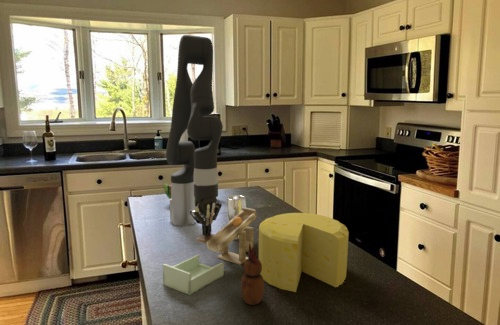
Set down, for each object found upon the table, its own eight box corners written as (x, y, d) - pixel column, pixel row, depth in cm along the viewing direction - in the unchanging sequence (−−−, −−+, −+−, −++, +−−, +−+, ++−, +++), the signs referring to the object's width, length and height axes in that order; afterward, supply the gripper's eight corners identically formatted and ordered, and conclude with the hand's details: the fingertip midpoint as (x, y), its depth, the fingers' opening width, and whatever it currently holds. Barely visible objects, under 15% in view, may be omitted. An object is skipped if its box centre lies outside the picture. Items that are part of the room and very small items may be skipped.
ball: (236, 214, 130) (236, 224, 131) (230, 217, 127) (230, 226, 128) (244, 216, 128) (244, 226, 129) (238, 219, 126) (238, 228, 126)
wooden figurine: (240, 294, 106) (240, 241, 103) (261, 294, 106) (262, 240, 104) (241, 308, 99) (242, 251, 96) (265, 307, 100) (266, 250, 97)
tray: (163, 284, 111) (162, 264, 110) (198, 266, 122) (197, 248, 121) (189, 295, 105) (189, 274, 104) (223, 275, 117) (223, 256, 116)
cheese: (326, 302, 102) (329, 247, 100) (241, 277, 116) (241, 228, 113) (357, 266, 124) (360, 219, 122) (282, 248, 138) (283, 206, 135)
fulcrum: (238, 246, 138) (238, 219, 137) (260, 253, 133) (261, 224, 131) (217, 257, 129) (217, 228, 127) (240, 264, 124) (240, 234, 122)
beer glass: (243, 241, 144) (243, 200, 141) (224, 239, 145) (224, 199, 142) (247, 234, 150) (247, 195, 148) (229, 232, 152) (229, 194, 149)
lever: (230, 212, 139) (228, 203, 138) (257, 218, 133) (255, 209, 132) (192, 244, 125) (190, 235, 124) (220, 253, 119) (218, 244, 117)
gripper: (210, 176, 131) (211, 227, 134) (181, 184, 120) (183, 238, 123) (228, 179, 127) (229, 231, 130) (200, 187, 116) (201, 244, 119)
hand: (206, 235), depth 126 cm, fingers closed
